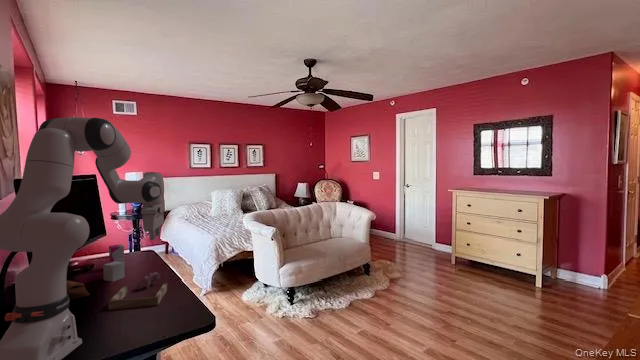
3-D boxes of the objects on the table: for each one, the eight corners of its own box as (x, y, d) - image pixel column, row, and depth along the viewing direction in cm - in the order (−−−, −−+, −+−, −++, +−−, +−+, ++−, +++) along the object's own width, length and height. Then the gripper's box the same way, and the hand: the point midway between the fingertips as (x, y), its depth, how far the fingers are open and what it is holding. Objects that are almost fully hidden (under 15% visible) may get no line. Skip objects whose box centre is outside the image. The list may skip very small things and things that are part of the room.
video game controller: (142, 294, 138) (148, 279, 137) (134, 288, 139) (140, 274, 138) (158, 285, 148) (164, 272, 147) (150, 280, 148) (156, 267, 147)
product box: (115, 276, 156) (115, 260, 156) (125, 277, 154) (124, 262, 154) (103, 280, 150) (102, 264, 150) (112, 282, 148) (112, 265, 148)
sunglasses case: (91, 294, 133) (80, 282, 131) (73, 307, 129) (61, 295, 127) (83, 283, 146) (73, 272, 144) (67, 295, 142) (56, 284, 140)
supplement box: (122, 265, 173) (121, 243, 172) (125, 268, 168) (124, 245, 168) (109, 267, 169) (108, 245, 168) (111, 270, 164) (111, 247, 164)
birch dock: (157, 305, 123) (157, 297, 123) (108, 309, 119) (108, 301, 119) (167, 290, 138) (167, 283, 138) (124, 293, 134) (123, 286, 134)
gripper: (152, 205, 159) (153, 233, 160) (139, 210, 139) (140, 243, 140) (166, 204, 161) (167, 232, 161) (155, 210, 141) (156, 242, 141)
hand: (155, 237), depth 151 cm, fingers open, 6 cm apart
